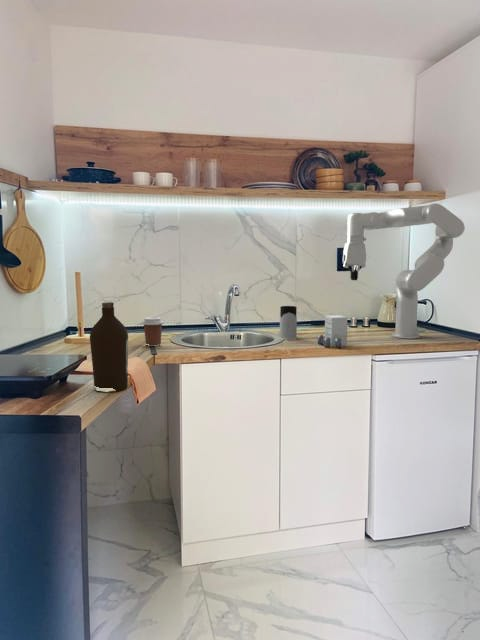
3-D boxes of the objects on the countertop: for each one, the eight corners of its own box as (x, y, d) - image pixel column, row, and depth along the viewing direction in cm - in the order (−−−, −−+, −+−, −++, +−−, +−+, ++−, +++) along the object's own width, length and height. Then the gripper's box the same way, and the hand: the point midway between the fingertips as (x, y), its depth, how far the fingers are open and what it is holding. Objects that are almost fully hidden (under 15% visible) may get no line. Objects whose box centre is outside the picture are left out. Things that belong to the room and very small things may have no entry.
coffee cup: (141, 344, 206) (140, 317, 204) (161, 342, 209) (161, 316, 207) (144, 347, 197) (143, 319, 196) (166, 346, 200) (165, 318, 199)
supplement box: (339, 343, 207) (340, 314, 205) (347, 346, 199) (348, 316, 198) (324, 344, 205) (324, 315, 203) (331, 347, 198) (332, 317, 196)
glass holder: (279, 340, 215) (279, 307, 213) (277, 335, 229) (277, 304, 227) (298, 340, 215) (298, 307, 213) (295, 335, 229) (295, 304, 227)
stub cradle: (327, 342, 209) (327, 333, 208) (342, 348, 194) (342, 339, 194) (314, 342, 207) (314, 334, 207) (328, 349, 193) (328, 339, 193)
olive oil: (97, 395, 129) (93, 305, 125) (88, 386, 138) (84, 302, 135) (134, 390, 134) (131, 303, 131) (123, 381, 143) (120, 300, 140)
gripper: (366, 240, 221) (364, 279, 224) (336, 240, 218) (335, 280, 220) (373, 240, 214) (372, 280, 216) (343, 240, 211) (342, 280, 213)
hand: (354, 280), depth 218 cm, fingers closed
